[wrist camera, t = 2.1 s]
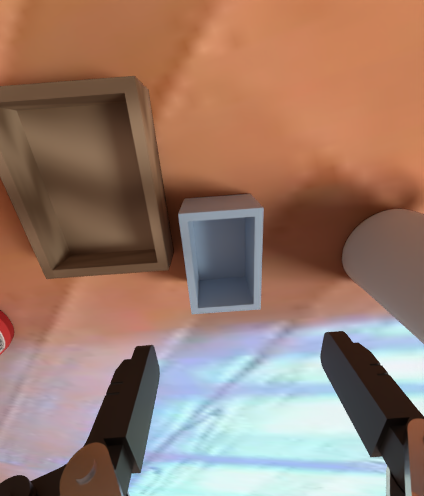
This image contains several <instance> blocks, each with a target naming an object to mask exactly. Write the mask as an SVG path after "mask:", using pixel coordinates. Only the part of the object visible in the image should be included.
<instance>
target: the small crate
mask: <svg viewBox="0 0 424 496" xmlns="http://www.w3.org/2000/svg"><path fill="white" fill-rule="evenodd" d="M263 212H264V208H263V206H262V205H261V204H260V203H259V202H258V201H257V200H256V199H255V198H254V197H253V196H252V195H251V194H239V195H226V196H212V197H199V198H185V199H184V201H183V203H182V206H181V208H180V210H179V213H178V217H179V224H180V232H181V239H182V246H183V254H184V261H185V268H186V276H187V283H188V290H189V298H190V305H191V312H192V314H201V313H215V312H229V311H243V310H257V309H261V277H262V244H263Z"/></svg>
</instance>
